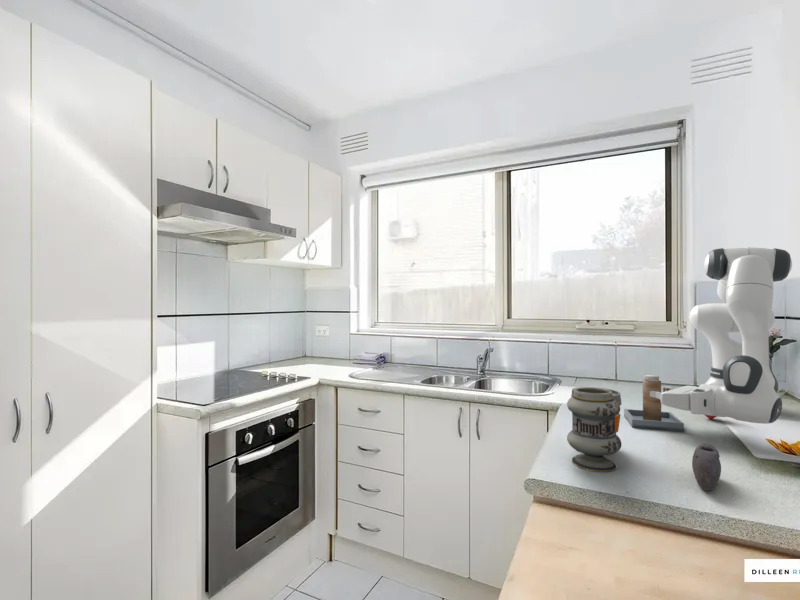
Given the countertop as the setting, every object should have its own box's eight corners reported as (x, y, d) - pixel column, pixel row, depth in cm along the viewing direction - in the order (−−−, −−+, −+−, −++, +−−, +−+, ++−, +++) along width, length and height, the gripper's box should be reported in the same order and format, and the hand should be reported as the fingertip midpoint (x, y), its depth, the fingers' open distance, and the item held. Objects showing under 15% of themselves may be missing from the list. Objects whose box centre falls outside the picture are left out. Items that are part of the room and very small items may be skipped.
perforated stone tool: (720, 499, 85) (720, 464, 85) (688, 492, 88) (688, 458, 88) (721, 475, 97) (721, 444, 97) (693, 469, 100) (693, 440, 100)
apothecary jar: (575, 451, 112) (575, 383, 112) (626, 462, 104) (626, 389, 104) (560, 465, 103) (559, 390, 103) (614, 478, 95) (614, 397, 95)
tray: (624, 416, 147) (624, 408, 147) (670, 419, 143) (670, 412, 143) (632, 427, 134) (632, 419, 134) (683, 431, 129) (683, 423, 129)
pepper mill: (642, 418, 142) (642, 374, 142) (660, 419, 139) (660, 375, 140) (643, 421, 137) (643, 376, 137) (662, 423, 135) (662, 378, 135)
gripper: (720, 385, 132) (671, 378, 143) (694, 393, 120) (642, 385, 131) (720, 405, 132) (671, 397, 143) (694, 415, 120) (643, 405, 131)
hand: (657, 391), depth 137 cm, fingers open, 8 cm apart
